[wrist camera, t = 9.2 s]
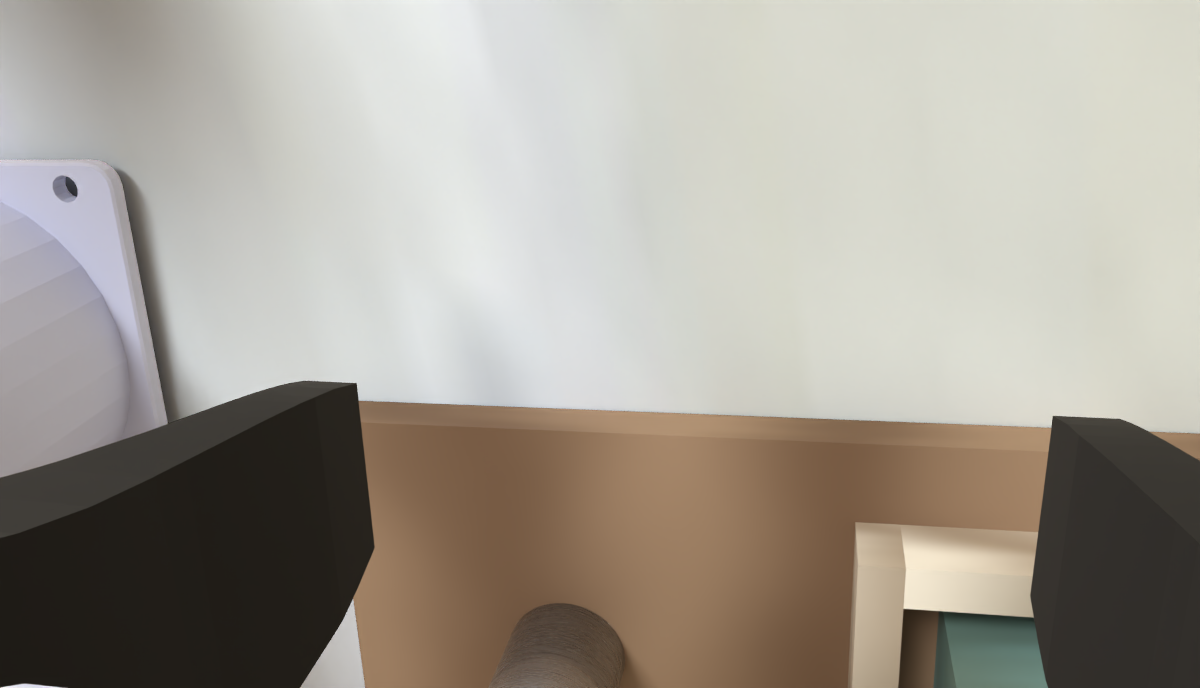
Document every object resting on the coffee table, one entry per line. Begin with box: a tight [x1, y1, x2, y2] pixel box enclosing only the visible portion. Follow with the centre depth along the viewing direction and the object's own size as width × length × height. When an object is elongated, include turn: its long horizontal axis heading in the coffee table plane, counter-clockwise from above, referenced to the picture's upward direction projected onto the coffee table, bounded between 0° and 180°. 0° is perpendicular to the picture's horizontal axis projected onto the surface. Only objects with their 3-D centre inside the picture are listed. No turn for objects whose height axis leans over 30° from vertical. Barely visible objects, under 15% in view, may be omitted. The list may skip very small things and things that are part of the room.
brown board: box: [353, 401, 1200, 688], centre depth 22 cm, size 18×10×2 cm, turn 92°
